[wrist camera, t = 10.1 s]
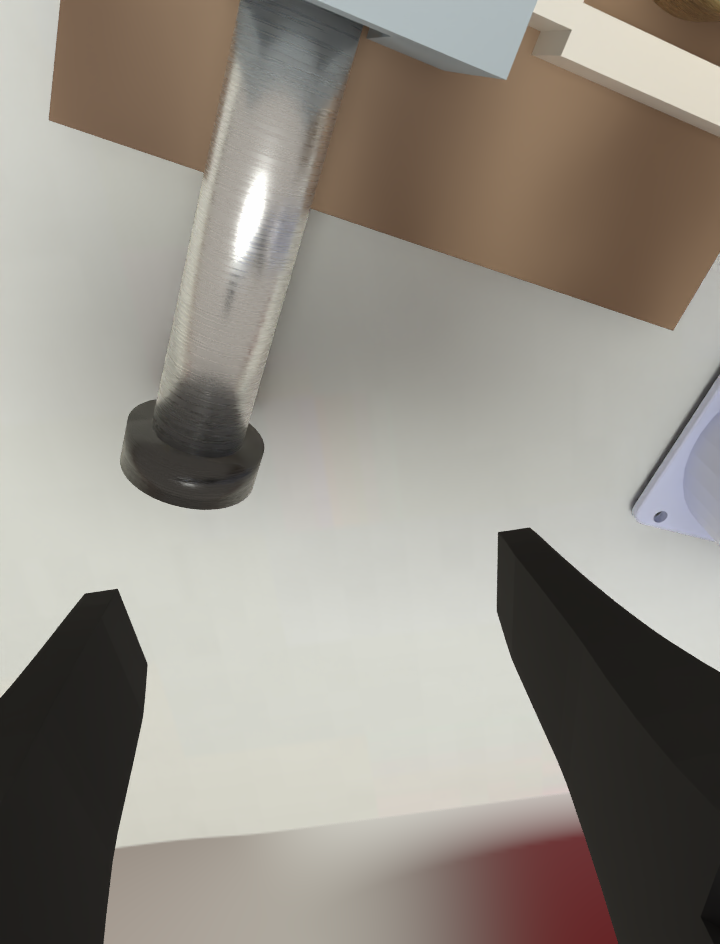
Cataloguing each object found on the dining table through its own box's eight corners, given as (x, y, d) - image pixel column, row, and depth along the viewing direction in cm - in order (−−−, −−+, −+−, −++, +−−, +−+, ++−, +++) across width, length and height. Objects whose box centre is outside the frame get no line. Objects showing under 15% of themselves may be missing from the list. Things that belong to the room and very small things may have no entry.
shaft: (410, -65, 14) (447, -95, 11) (255, 451, 20) (251, 521, 17) (242, -143, 13) (232, -198, 10) (133, 422, 20) (107, 491, 17)
